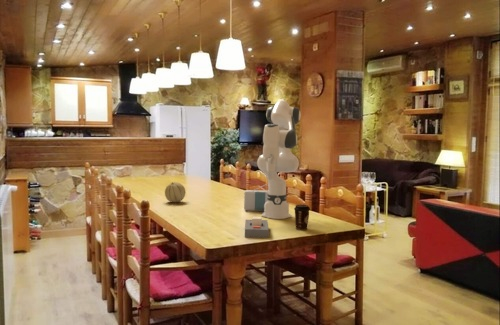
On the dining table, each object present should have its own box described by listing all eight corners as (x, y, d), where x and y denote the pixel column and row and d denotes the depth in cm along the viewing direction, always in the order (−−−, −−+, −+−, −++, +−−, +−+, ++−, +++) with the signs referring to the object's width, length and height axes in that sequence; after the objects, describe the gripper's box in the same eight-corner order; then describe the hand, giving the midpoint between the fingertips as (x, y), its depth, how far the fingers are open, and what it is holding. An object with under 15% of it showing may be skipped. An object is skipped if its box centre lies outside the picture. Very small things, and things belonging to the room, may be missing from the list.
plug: (251, 230, 219) (252, 217, 218) (261, 230, 219) (261, 217, 218) (251, 231, 215) (252, 218, 215) (261, 231, 215) (261, 218, 215)
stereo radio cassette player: (244, 211, 271) (244, 181, 269) (244, 208, 279) (245, 179, 278) (275, 212, 271) (276, 182, 269) (275, 209, 279) (275, 180, 277)
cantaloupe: (188, 201, 303) (188, 181, 302) (180, 204, 289) (180, 183, 288) (170, 200, 307) (170, 180, 306) (161, 203, 293) (161, 182, 291)
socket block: (245, 226, 228) (245, 218, 228) (266, 227, 228) (267, 219, 228) (244, 237, 206) (244, 228, 206) (268, 237, 206) (268, 228, 206)
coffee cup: (308, 227, 230) (308, 204, 229) (310, 230, 222) (311, 207, 221) (292, 226, 230) (293, 204, 229) (294, 230, 222) (295, 206, 221)
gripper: (278, 155, 210) (277, 182, 211) (275, 153, 231) (275, 177, 232) (265, 155, 210) (265, 181, 211) (264, 152, 231) (263, 177, 232)
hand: (270, 179), depth 222 cm, fingers closed
